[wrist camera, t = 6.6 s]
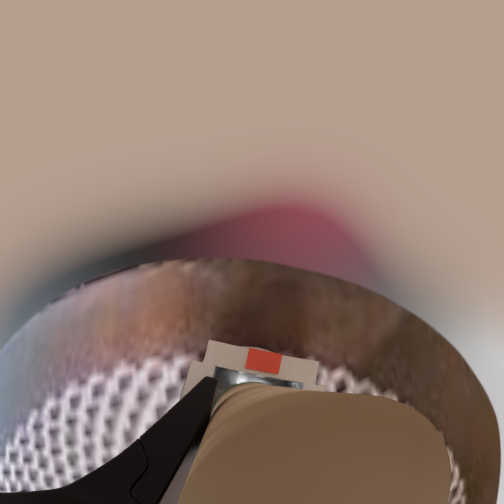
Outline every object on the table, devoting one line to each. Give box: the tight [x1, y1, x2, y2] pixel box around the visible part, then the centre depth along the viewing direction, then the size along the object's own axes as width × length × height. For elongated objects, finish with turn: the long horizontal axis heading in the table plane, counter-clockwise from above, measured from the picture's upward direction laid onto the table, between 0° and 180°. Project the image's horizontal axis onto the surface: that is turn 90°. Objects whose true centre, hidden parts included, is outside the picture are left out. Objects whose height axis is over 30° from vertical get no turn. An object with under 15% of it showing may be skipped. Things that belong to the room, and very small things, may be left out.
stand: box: [180, 340, 326, 421], centre depth 15 cm, size 8×8×5 cm
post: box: [177, 382, 451, 504], centre depth 8 cm, size 4×4×12 cm
